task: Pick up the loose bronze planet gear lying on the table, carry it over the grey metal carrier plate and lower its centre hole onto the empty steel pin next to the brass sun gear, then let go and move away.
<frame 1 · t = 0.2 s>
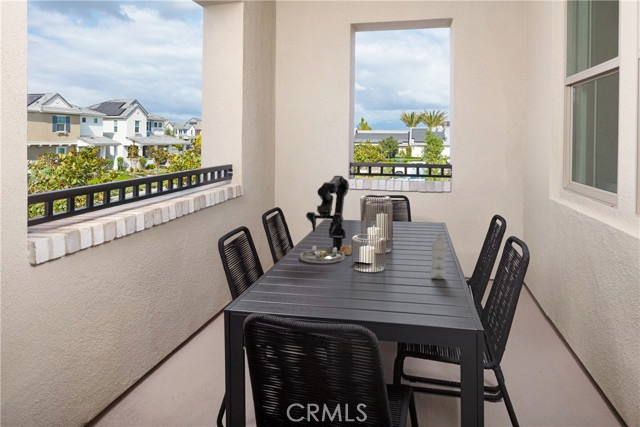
hand: (322, 232, 247), 15 cm above the table, tool tilted 30°, fingers open, 9 cm apart
plastic bottle: (437, 279, 215), on the table
planet gear: (346, 253, 264), on the table
carrier: (322, 258, 253), on the table
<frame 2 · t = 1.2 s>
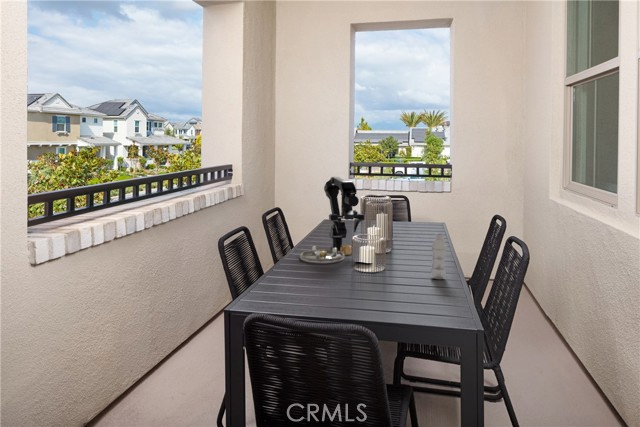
hand: (346, 232, 263), 12 cm above the table, tool pointing down, fingers open, 9 cm apart
nothing on the table moved.
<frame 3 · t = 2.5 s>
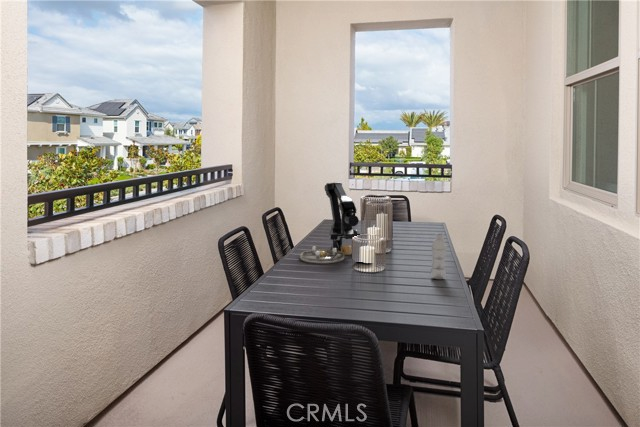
hand: (346, 251, 264), 1 cm above the table, tool pointing down, fingers closed on planet gear, 7 cm apart
planet gear: (346, 253, 264), on the table, touching gripper
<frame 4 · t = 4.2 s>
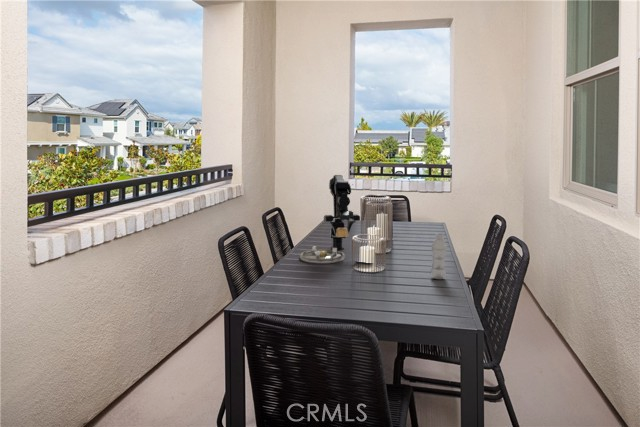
hand: (341, 233, 258), 12 cm above the table, tool pointing down, fingers closed on planet gear, 7 cm apart
planet gear: (341, 236, 258), point 11 cm above the table, touching gripper
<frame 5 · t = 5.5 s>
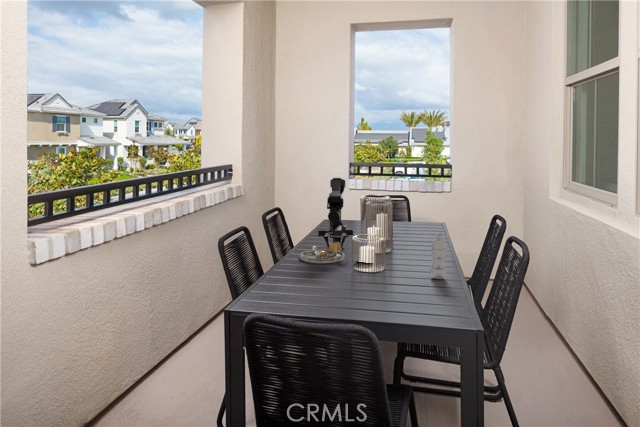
hand: (334, 248, 253), 5 cm above the table, tool pointing down, fingers closed on planet gear, 7 cm apart
planet gear: (334, 250, 254), point 4 cm above the table, touching gripper
when the fingers open (4 cm above the table, at t = 6.2 s): planet gear drops 1 cm, resting on carrier.
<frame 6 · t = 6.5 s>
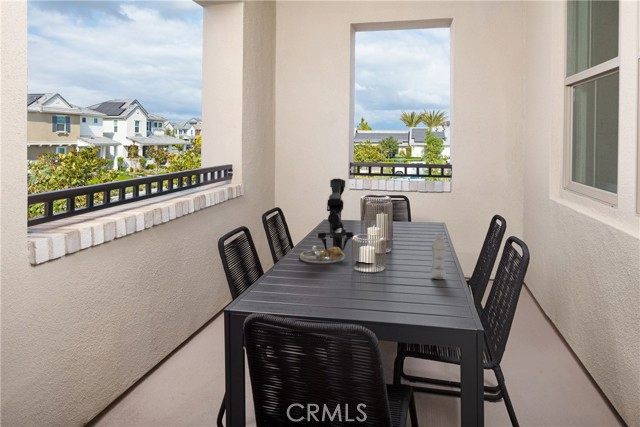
hand: (334, 250, 254), 4 cm above the table, tool pointing down, fingers open, 9 cm apart
planet gear: (334, 255, 254), point 1 cm above the table, touching carrier
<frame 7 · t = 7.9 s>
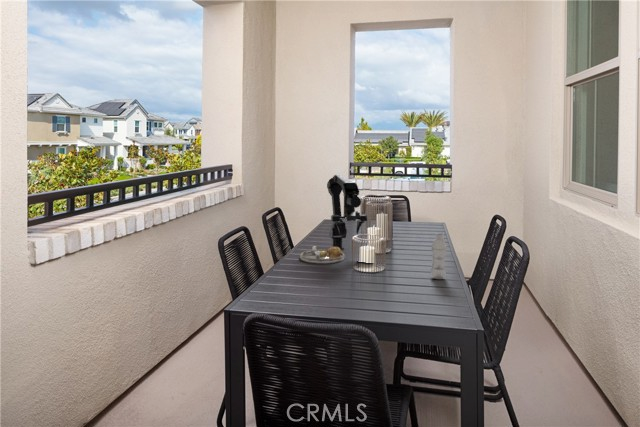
hand: (348, 233, 258), 12 cm above the table, tool pointing down, fingers open, 9 cm apart
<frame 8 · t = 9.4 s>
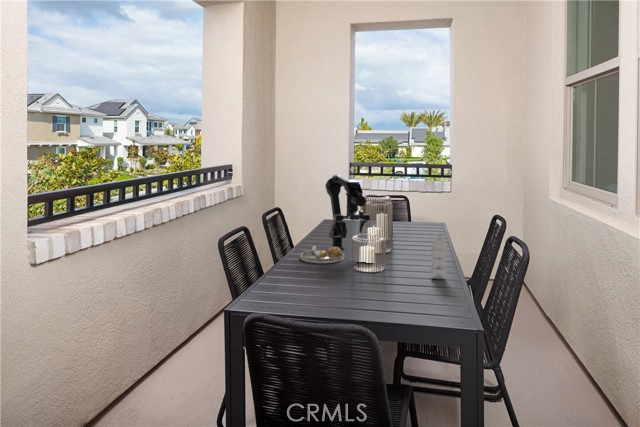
hand: (351, 233, 259), 12 cm above the table, tool pointing down, fingers open, 9 cm apart
at the end: planet gear 0.0 cm from the target spot on the carrier, point 1.2 cm above the carrier's base; planet gear tilted 0°; the gripper is holding nothing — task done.
